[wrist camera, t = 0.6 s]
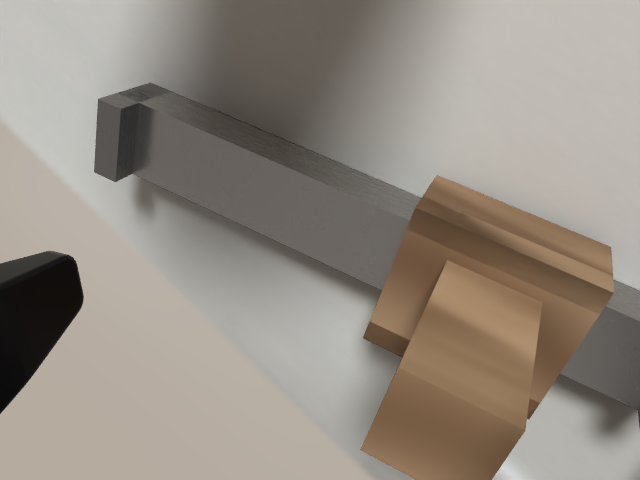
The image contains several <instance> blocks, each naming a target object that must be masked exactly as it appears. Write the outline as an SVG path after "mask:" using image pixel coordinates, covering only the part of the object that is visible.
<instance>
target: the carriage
mask: <svg viewBox="0 0 640 480" xmlns="http://www.w3.org/2000/svg"><path fill="white" fill-rule="evenodd" d="M613 294H614V283H613V268H612V253H611V247H609V246H607V245H604V244H602V243H600V242H597V241H595V240H592V239H590V238H588V237H585V236H583V235H580V234H578V233H575V232H573V231H571V230H568V229H566V228H563V227H561V226H559V225H556V224H554V223H551V222H549V221H546V220H544V219H542V218H539V217H537V216H534V215H532V214H530V213H527V212H525V211H522V210H520V209H517V208H515V207H513V206H510V205H508V204H505V203H503V202H501V201H498V200H496V199H493V198H491V197H489V196H486V195H484V194H481V193H479V192H476V191H474V190H472V189H469V188H467V187H464V186H462V185H460V184H457V183H455V182H452V181H450V180H447V179H445V178H443V177H440V176H438V175H437V176H436V177H435V179H434V180H433V182H432V183H431V185H430V186H429V188H428V189H427V191H426V192H425V194H424V195H423V197H422V198H421V200H420V201H419V203H418V204H417V206H416V207H415V209H414V212H413V214H412V217H411V219H410V222H409V224H408V227H407V229H406V232H405V234H404V237H403V239H402V242H401V244H400V247H399V249H398V252H397V254H396V257H395V259H394V262H393V264H392V267H391V269H390V272H389V274H388V277H387V279H386V282H385V284H384V287H383V289H382V292H381V294H380V297H379V299H378V302H377V304H376V307H375V309H374V312H373V314H372V317H371V319H370V322H369V324H368V327H367V329H366V332H365V334H364V337H363V338H364V339H366V340H368V341H370V342H372V343H374V344H376V345H378V346H380V347H382V348H384V349H386V350H388V351H390V352H392V353H394V354H396V355H398V356H401V357H403V358H402V360H401V362H400V364H399V366H398V369H397V371H396V373H395V375H394V377H393V380H392V382H391V384H390V386H389V388H388V390H387V393H386V395H385V397H384V399H383V401H382V404H381V406H380V408H379V410H378V412H377V414H376V417H375V419H374V421H373V423H372V425H371V428H370V430H369V432H368V434H367V436H366V439H365V441H364V443H363V445H362V447H361V449H360V450H362V451H363V452H365V453H367V454H369V455H371V456H373V457H375V458H377V459H378V460H380V461H382V462H384V463H386V464H388V465H390V466H392V467H393V468H395V469H397V470H399V471H401V472H403V473H405V474H406V475H408V476H410V477H412V478H414V479H416V480H492V479H493V477H494V476H495V474H496V473H497V471H498V470H499V468H500V467H501V465H502V464H503V462H504V461H505V459H506V458H507V456H508V455H509V453H510V452H511V451H512V449H513V448H514V446H515V445H516V443H517V442H518V440H519V439H520V437H521V436H522V434H523V433H524V431H525V428H526V421H527V419H530V417H531V416H532V414H533V413H534V411H535V410H536V408H537V407H538V405H539V404H540V402H541V401H542V399H543V398H544V396H545V395H546V393H547V392H548V391H549V389H550V388H551V386H552V385H553V383H554V382H555V380H556V379H557V377H558V376H559V374H560V373H561V371H562V370H563V368H564V367H565V365H566V364H567V362H568V361H569V359H570V358H571V356H572V355H573V353H574V352H575V350H576V349H577V347H578V346H579V345H580V343H581V342H582V340H583V339H584V337H585V336H586V334H587V333H588V331H589V330H590V328H591V327H592V325H593V324H594V322H595V321H596V319H597V318H598V316H599V315H600V313H601V312H602V310H603V309H604V307H605V306H606V304H607V303H608V301H609V300H610V299H611V297H612V296H613Z"/></svg>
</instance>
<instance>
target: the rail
mask: <svg viewBox="0 0 640 480" xmlns="http://www.w3.org/2000/svg"><path fill="white" fill-rule="evenodd" d="M94 172H95V173H97V174H99V175H102V176H104V177H106V178H108V179H110V180H112V181H114V182H116V181H119V180H121V179H123V178H125V177H127V176H129V175H131V174H134V175H136V176H138V177H141V178H143V179H145V180H147V181H149V182H151V183H153V184H155V185H158V186H160V187H162V188H164V189H166V190H168V191H170V192H173V193H175V194H177V195H179V196H181V197H183V198H185V199H188V200H190V201H192V202H194V203H196V204H198V205H200V206H202V207H205V208H207V209H209V210H211V211H213V212H215V213H217V214H220V215H222V216H224V217H226V218H228V219H230V220H232V221H235V222H237V223H239V224H241V225H243V226H245V227H247V228H249V229H252V230H254V231H256V232H258V233H260V234H262V235H264V236H267V237H269V238H271V239H273V240H275V241H277V242H279V243H282V244H284V245H286V246H288V247H290V248H292V249H294V250H297V251H299V252H301V253H303V254H305V255H307V256H309V257H311V258H314V259H316V260H318V261H320V262H322V263H324V264H326V265H329V266H331V267H333V268H335V269H337V270H339V271H341V272H344V273H346V274H348V275H350V276H352V277H354V278H356V279H358V280H361V281H363V282H365V283H367V284H369V285H371V286H373V287H376V288H378V289H380V290H382V289H383V287H384V284H385V282H386V279H387V277H388V274H389V272H390V269H391V267H392V264H393V262H394V259H395V257H396V254H397V252H398V249H399V247H400V244H401V242H402V239H403V237H404V234H405V232H406V229H407V227H408V224H409V222H410V219H411V217H412V214H413V212H414V209H415V207H416V206H417V204H418V203H419V201H420V200H421V198H420V197H418V196H415V195H413V194H410V193H408V192H406V191H403V190H401V189H399V188H396V187H394V186H392V185H389V184H387V183H385V182H382V181H380V180H378V179H375V178H373V177H370V176H368V175H366V174H363V173H361V172H359V171H356V170H354V169H352V168H349V167H347V166H345V165H342V164H340V163H338V162H335V161H333V160H331V159H328V158H326V157H323V156H321V155H319V154H316V153H314V152H312V151H309V150H307V149H305V148H302V147H300V146H298V145H295V144H293V143H291V142H288V141H286V140H283V139H281V138H279V137H276V136H274V135H272V134H269V133H267V132H265V131H262V130H260V129H258V128H255V127H253V126H251V125H248V124H246V123H244V122H241V121H239V120H236V119H234V118H232V117H229V116H227V115H225V114H222V113H220V112H218V111H215V110H213V109H211V108H208V107H206V106H204V105H201V104H199V103H196V102H194V101H192V100H189V99H187V98H185V97H182V96H180V95H178V94H175V93H173V92H171V91H168V90H166V89H164V88H161V87H159V86H157V85H154V84H152V83H148V84H145V85H142V86H139V87H135V88H132V89H129V90H126V91H122V92H119V93H116V94H113V95H109V96H106V97H103V98H100V99H98V112H97V130H96V148H95V167H94ZM613 283H614V294H613V296H612V297H611V299H610V300H609V301H608V303H607V304H606V306H605V307H604V309H603V310H602V312H601V313H600V315H599V316H598V318H597V319H596V321H595V322H594V324H593V325H592V327H591V328H590V330H589V331H588V333H587V334H586V336H585V337H584V339H583V340H582V342H581V343H580V345H579V346H578V347H577V349H576V350H575V352H574V353H573V355H572V356H571V358H570V359H569V361H568V362H567V364H566V365H565V367H564V368H563V370H562V371H561V373H560V374H561V375H564V376H566V377H568V378H570V379H572V380H574V381H576V382H579V383H581V384H583V385H585V386H587V387H589V388H591V389H594V390H596V391H598V392H600V393H602V394H604V395H606V396H609V397H611V398H613V399H615V400H617V401H619V402H621V403H623V404H626V405H628V406H630V407H632V408H634V409H636V410H638V417H639V427H640V291H639V290H636V289H634V288H631V287H629V286H627V285H624V284H622V283H620V282H617V281H615V280H613Z"/></svg>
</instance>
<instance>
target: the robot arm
mask: <svg viewBox="0 0 640 480" xmlns="http://www.w3.org/2000/svg"><path fill="white" fill-rule="evenodd" d="M83 298H84V296H83V290H82V286H81V281H80V276H79V272H78V267H77V263H76V261H75V260H74V258H73V257H71V256H69V255H66V254H62V253H59V252H55V251H46V252H43V253H39V254H35V255H31V256H28V257H24V258H20V259H16V260H12V261H8V262H5V263H1V264H0V414H1V412H2V411H3V410H4V409H5V408H6V407H7V406H8V404H9V403H10V402H11V401H12V400H13V399H14V398H15V396H16V395H17V394H18V393H19V392H20V391H21V389H22V388H23V387H24V386H25V385H26V383H27V382H28V381H29V380H30V378H31V377H32V376H33V374H34V373H35V372H36V370H37V369H38V368H39V366H40V365H41V363H42V362H43V360H44V359H45V358H46V357H47V355H48V354H49V352H50V351H51V350H52V348H53V347H54V345H55V344H56V343H57V341H58V340H59V339H60V337H61V336H62V334H63V333H64V332H65V330H66V329H67V327H68V326H69V325H70V323H71V322H72V320H73V319H74V318H75V316H76V315H77V313H78V312H79V311H80V309H81V307H82V304H83Z"/></svg>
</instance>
